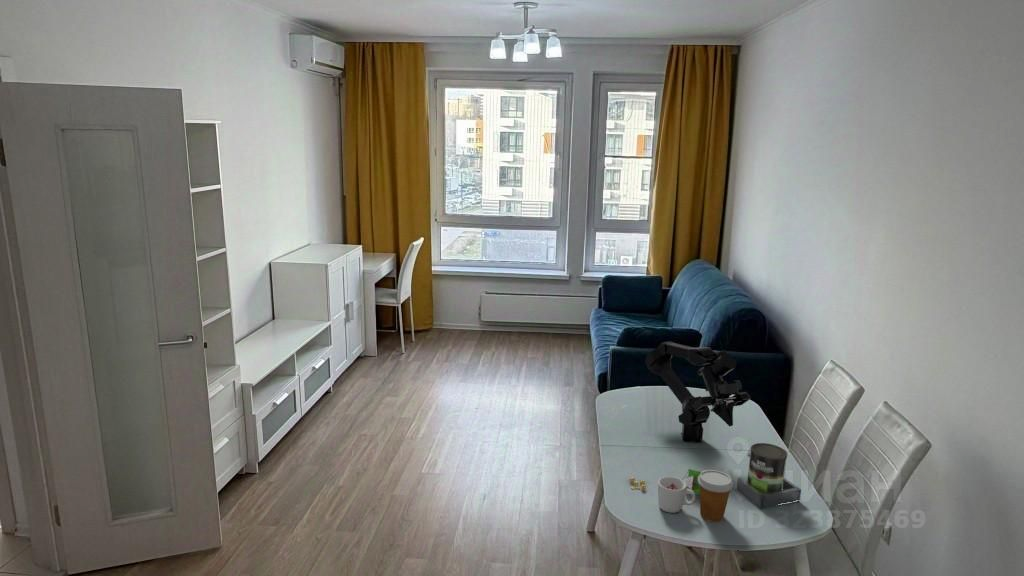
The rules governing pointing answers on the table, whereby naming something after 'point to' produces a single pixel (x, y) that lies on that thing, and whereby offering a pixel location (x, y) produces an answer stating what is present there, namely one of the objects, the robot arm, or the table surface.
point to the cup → (673, 494)
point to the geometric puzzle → (692, 481)
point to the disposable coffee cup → (714, 494)
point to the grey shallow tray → (769, 494)
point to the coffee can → (766, 467)
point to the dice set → (642, 484)
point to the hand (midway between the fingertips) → (731, 425)
